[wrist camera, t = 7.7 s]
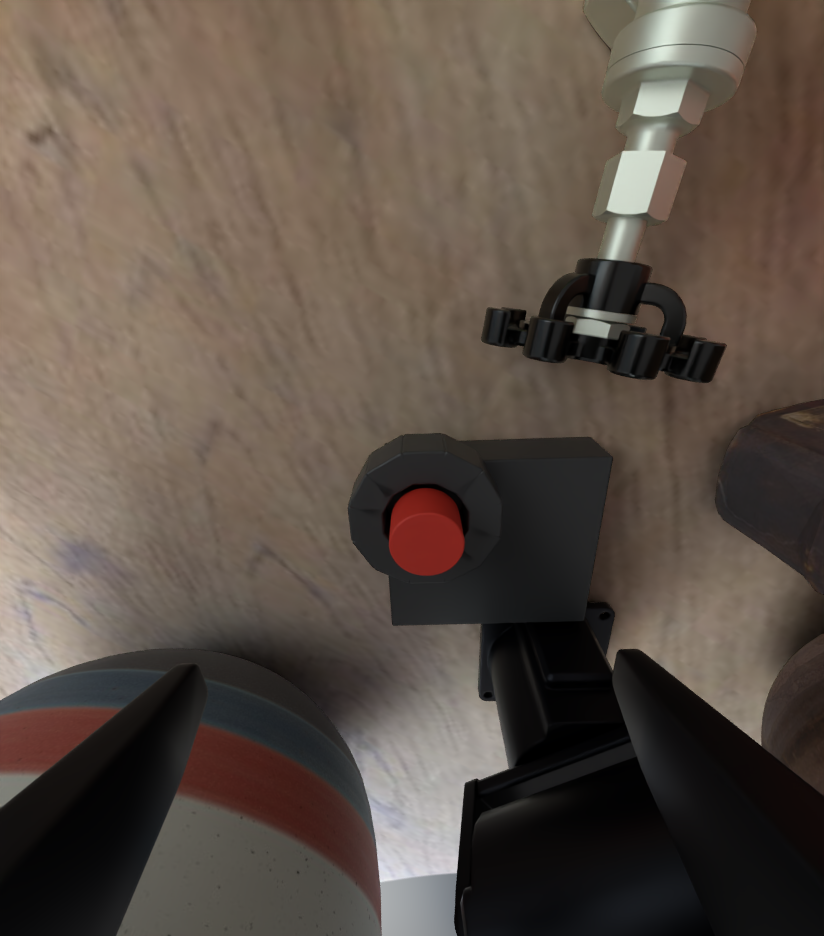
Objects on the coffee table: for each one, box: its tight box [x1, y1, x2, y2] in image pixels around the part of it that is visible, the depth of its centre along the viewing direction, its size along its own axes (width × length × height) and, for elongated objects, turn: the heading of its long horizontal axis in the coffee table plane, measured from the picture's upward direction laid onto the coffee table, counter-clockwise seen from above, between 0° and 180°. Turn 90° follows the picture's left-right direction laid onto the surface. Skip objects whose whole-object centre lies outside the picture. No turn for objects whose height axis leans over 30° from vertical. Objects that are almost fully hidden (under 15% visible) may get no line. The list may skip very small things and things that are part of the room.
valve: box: [481, 0, 757, 383], centre depth 10 cm, size 7×7×12 cm
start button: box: [389, 488, 465, 576], centre depth 14 cm, size 2×2×2 cm
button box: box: [348, 433, 613, 626], centre depth 17 cm, size 9×10×4 cm
